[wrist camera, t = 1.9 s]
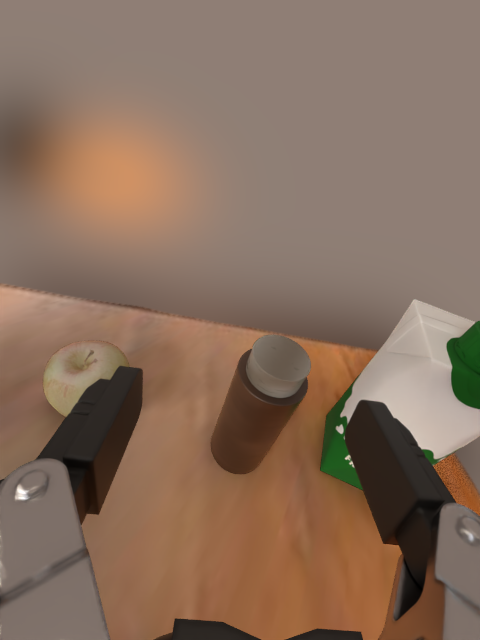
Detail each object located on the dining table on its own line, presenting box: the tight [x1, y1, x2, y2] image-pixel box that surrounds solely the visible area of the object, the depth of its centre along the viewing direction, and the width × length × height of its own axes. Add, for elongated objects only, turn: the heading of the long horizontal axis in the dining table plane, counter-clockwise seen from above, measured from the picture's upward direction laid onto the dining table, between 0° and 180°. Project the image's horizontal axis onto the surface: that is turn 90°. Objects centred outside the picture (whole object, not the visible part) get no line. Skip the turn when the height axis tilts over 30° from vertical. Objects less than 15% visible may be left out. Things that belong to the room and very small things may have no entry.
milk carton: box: [320, 299, 480, 490], centre depth 26 cm, size 9×9×20 cm
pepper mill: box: [211, 335, 311, 474], centre depth 25 cm, size 6×6×14 cm
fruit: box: [43, 341, 129, 417], centre depth 27 cm, size 8×7×8 cm
